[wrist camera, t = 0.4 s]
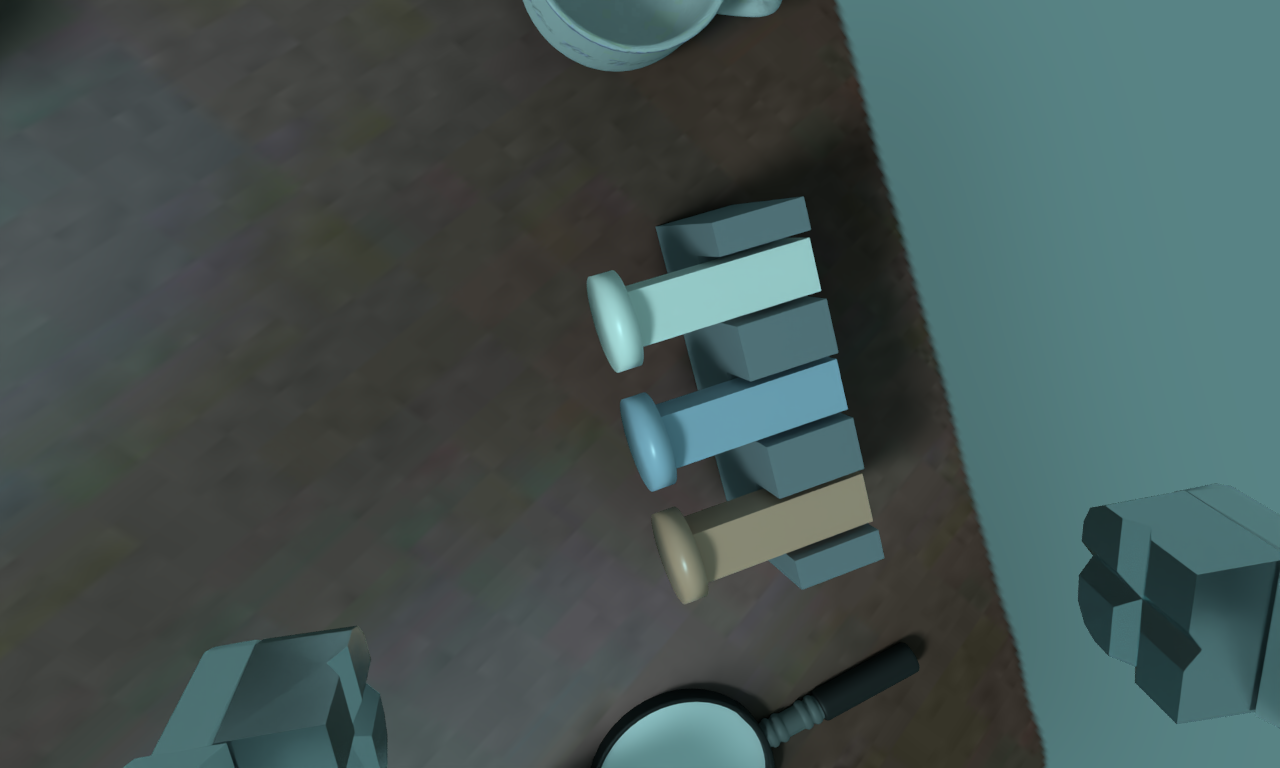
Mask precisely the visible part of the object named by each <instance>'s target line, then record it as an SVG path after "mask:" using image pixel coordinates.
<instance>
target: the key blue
mask: <svg viewBox="0 0 1280 768" xmlns="http://www.w3.org/2000/svg"><path fill="white" fill-rule="evenodd" d="M847 409H848V407H847V403H846V398H845V394H844V389H843V385H842V380H841V376H840V372H839V367H838V363H837V359H835V358H831V357H824V358H821V359H818V360H815V361H812V362H809V363H806V364H803V365H800V366H797V367H794V368H791V369H788V370H785V371H782V372H779V373H776V374H772V375H769V376H766V377H763V378H760V379H757V380H754V381H751V382H750V381H748V380H745V379H743V378H740V377H739V378H735V379H732V380H729V381H726V382H723V383H720V384H717V385H714V386H711V387H708V388H705V389H702V390H699V391H696V392H693V393H690V394H687V395H684V396H681V397H678V398H674V399H671V400H668V401H665V402H662V403H659V404H656V405H655V404H654V402H653V400H652V399H651V397H650V396H649V395H648V394H647V393H645V392H643V393H640V394H637V395H634V396H631V397H628V398H625V399H622V400H621V402H620V412H621V418H622V423H623V428H624V432H625V435H626V439H627V442H628V445H629V448H630V451H631V454H632V457H633V459H634V462H635V464H636V467H637V469H638V471H639V474H640V476H641V478H642V480H643V481H644V483H645V485H646V486H647V488H648V489H649V490H650V491H652V492H653V491H656V490H658V489H661V488H664V487H667V486H670V485H673V484H675V483H676V481H677V470H676V468H679V467H682V466H685V465H687V464H690V463H693V462H696V461H699V460H702V459H705V458H708V457H711V456H714V455H716V454H719V453H722V452H725V451H728V450H731V449H734V448H737V447H740V446H743V445H746V444H748V443H751V442H754V441H757V440H760V439H763V438H766V437H769V436H772V435H775V434H777V433H780V432H783V431H786V430H789V429H792V428H795V427H798V426H801V425H804V424H807V423H809V422H812V421H815V420H818V419H821V418H824V417H827V416H830V415H833V414H836V413H838V412H841V411H844V410H847Z"/></svg>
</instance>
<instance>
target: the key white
mask: <svg viewBox="0 0 1280 768" xmlns="http://www.w3.org/2000/svg"><path fill="white" fill-rule="evenodd" d="M819 291H821V287H820V282H819V278H818V273H817V269H816V264H815V260H814V255H813V251H812V246H811V242H810V238H785V239H782V240H779V241H775V242H772V243H769V244H765V245H762V246H759V247H755V248H752V249H749V250H745V251H742V252H738V253H735V254H732V255H728V256H725V257H722V258H718V259H715V260H712V261H708V262H705V263H702V264H698V265H695V266H691V267H688V268H685V269H681V270H678V271H675V272H671V273H668V274H665V275H661V276H658V277H655V278H651V279H648V280H645V281H641V282H638V283H634V284H631V285H628V286H625V285H624V284H623V282H622V280H621V278H620V277H619V275H618V274H617V273H616V272H615V271H613V270H611V271H608V272H604V273H601V274H597V275H594V276H591V277H588V279H587V294H588V300H589V305H590V310H591V314H592V318H593V321H594V325H595V328H596V331H597V334H598V337H599V340H600V343H601V345H602V348H603V350H604V353H605V355H606V357H607V359H608V361H609V363H610V365H611V366H612V368H613V369H614V370H615V371H616V372H617V373H619V372H622V371H625V370H628V369H631V368H634V367H638V366H641V365H642V364H643V360H644V351H643V347H644V346H647V345H650V344H653V343H657V342H660V341H663V340H666V339H669V338H673V337H676V336H679V335H682V334H685V333H688V332H692V331H695V330H698V329H701V328H704V327H708V326H711V325H714V324H717V323H720V322H724V321H727V320H730V319H733V318H736V317H740V316H743V315H746V314H749V313H752V312H756V311H759V310H762V309H765V308H768V307H771V306H775V305H778V304H781V303H784V302H787V301H791V300H794V299H797V298H800V297H803V296H807V295H810V294H813V293H816V292H819Z"/></svg>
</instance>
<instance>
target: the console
mask: <svg viewBox="0 0 1280 768" xmlns="http://www.w3.org/2000/svg"><path fill="white" fill-rule="evenodd" d="M809 230H811V226H810V222H809V218H808V213H807V209H806V204H805V200H804V196H803V197H795V198H786V199H778V200H769V201H761V202H752V203H744V204H736V205H730V206H727V207H723V208H720V209H716V210H713V211H709V212H706V213H702V214H699V215H695V216H692V217H688V218H685V219H681V220H678V221H674V222H671V223H667V224H664V225H660V226H657V227H656V231H657V234H658V238H659V242H660V246H661V250H662V254H663V258H664V261H665V265H666V269H667V273H671V272H675V271H678V270H681V269H685V268H688V267H691V266H695V265H698V264H702V263H705V262H708V261H712V260H715V259H718V258H722V257H725V256H728V255H732V254H735V253H738V252H742V251H745V250H749V249H752V248H755V247H759V246H762V245H765V244H769V243H772V242H775V241H779V240H782V239H785V237H789V236H792V235H795V234H799V233H802V232H806V231H809ZM684 338H685V342H686V346H687V350H688V354H689V357H690V361H691V365H692V369H693V373H694V377H695V381H696V384H697V388H698V391H699V390H702V389H705V388H708V387H711V386H714V385H717V384H720V383H723V382H726V381H729V380H732V379H735V378H739V377H740V378H743V379H745V380H748V381H750V382H751V381H754V380H757V379H760V378H763V377H766V376H769V375H772V374H776V373H779V372H782V371H785V370H788V369H791V368H794V367H797V366H800V365H803V364H806V363H809V362H812V361H815V360H818V359H821V358H824V357H827V356H830V355H833V354H836V353H839V352H838V348H837V343H836V339H835V334H834V330H833V325H832V321H831V316H830V312H829V307H828V303H827V299H825V298H817V297H809V296H803V297H800V298H797V299H794V300H791V301H787V302H784V303H781V304H778V305H775V306H771V307H768V308H765V309H762V310H759V311H756V312H752V313H749V314H746V315H743V316H740V317H736V318H733V319H730V320H727V321H724V322H720V323H717V324H714V325H711V326H708V327H704V328H701V329H698V330H695V331H692V332H688V333H685V334H684ZM715 457H716V461H717V465H718V469H719V473H720V477H721V481H722V484H723V488H724V492H725V496H726V500H727V501H729V500H732V499H735V498H738V497H741V496H743V495H746V494H749V493H752V492H755V491H757V490H760V489H763V488H764V489H766V490H767V491H769V492H770V493H772V494H773V495H774V496H776V497H777V498H779V499H781V498H784V497H787V496H790V495H792V494H795V493H798V492H801V491H803V490H806V489H809V488H812V487H815V486H817V485H820V484H823V483H826V482H828V481H831V480H834V479H837V478H840V477H842V476H845V475H848V474H851V473H853V472H856V471H859V470H862V469H864V464H863V460H862V455H861V451H860V446H859V442H858V437H857V433H856V428H855V424H854V420H853V417H850V416H847V415H845V414H842V413H840V412H838V413H836V414H833V415H830V416H827V417H824V418H821V419H818V420H815V421H812V422H809V423H807V424H804V425H801V426H798V427H795V428H792V429H789V430H786V431H783V432H780V433H777V434H775V435H772V436H769V437H766V438H763V439H760V440H757V441H754V442H751V443H748V444H746V445H743V446H740V447H737V448H734V449H731V450H728V451H725V452H722V453H719V454H716V455H715ZM881 559H884V554H883V550H882V545H881V541H880V536H879V532H878V530H877V529H876V528H874V527H872V526H871V525H869V524H868V523H866V524H864V525H861V526H858V527H856V528H853V529H850V530H847V531H845V532H842V533H839V534H837V535H834V536H831V537H829V538H826V539H823V540H821V541H818V542H815V543H813V544H810V545H807V546H805V547H802V548H799V549H797V550H794V551H791V552H789V553H786V554H783V555H781V556H778V557H775V558H773V559H770V560H768V561H769V562H771V563H772V564H773V565H774V566H775V567H776V568H778V569H779V570H780V571H781V572H782V573H783V574H784V575H786V576H787V577H788V578H789V579H790V580H791V581H792V582H794V583H795V584H796V585H797V586H798V587H799V588H801V589H802V590H803V589H805V588H808V587H811V586H813V585H816V584H818V583H821V582H824V581H826V580H829V579H832V578H834V577H837V576H839V575H842V574H845V573H847V572H850V571H852V570H855V569H858V568H860V567H863V566H865V565H868V564H871V563H873V562H876V561H878V560H881Z"/></svg>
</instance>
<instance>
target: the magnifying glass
mask: <svg viewBox="0 0 1280 768" xmlns="http://www.w3.org/2000/svg"><path fill="white" fill-rule="evenodd" d="M918 671H919V663H918V661H917V658H916V656H915V655H914V653H913V652H912V650H911V649H910V648H909V646H908V645H906V644H905V643H899V644H897V645H895V646H893V647H891V648H890V649H888V650H886V651H884V652H882V653H880V654H878V655H877V656H875V657H873V658H871V659H869V660H867V661H866V662H864V663H862V664H860V665H858V666H856V667H854V668H853V669H851V670H849V671H847V672H845V673H843V674H842V675H840V676H838V677H836V678H834V679H832V680H830V681H829V682H827V683H825V684H823V685H821V686H819V687H818V688H816V689H814V690H812V692H811V696H809V695H806V696H804V697H803V700H802V701H800V700H797V701H795V702H794V704H793V706H791V707H789V708H787V709H785V710H784V711H782V712H780V713H778V714H777V713H773V714H771V715H770V718H769V719H766V718H764V719H762V720H761V722H760V723H759V724H758V723H757V721H756V720H755V719H754V717H753V716H752V715H751V713H750V712H749V711H748V710H747V709H746V708H745V707H744V706H742V705H741V704H740V703H739V702H737V701H735V700H733V699H731V698H729V697H727V696H725V695H723V694H720V693H717V692H714V691H709V690H704V689H681V690H675V691H670V692H666V693H663V694H660V695H657V696H655V697H652V698H650V699H648V700H646V701H644V702H642V703H641V704H639V705H637V706H636V707H634V708H633V709H632V710H630V711H629V712H628V713H626V714H625V715H624V716H623V717H622V718H621V719H620V720H619V721H618V722H617V723H616V724H615V725H614V726H613V727H612V728H611V730H610V731H609V732H608V733H607V735H606V736H605V738H604V739H603V741H602V742H601V744H600V746H599V748H598V750H597V752H596V754H595V756H594V759H593V762H592V765H591V768H775V763H774V758H773V753H772V750H771V747H775V748H776V747H778V746H779V745H780V742H787V741H789V739H790V737H791V736H793V735H795V734H796V733H798V732H800V731H802V730H804V729H811V728H812V727H813V725H814V724H815V723H816V724H820V723H822V721H823V719H825V720H831V719H833V718H834V717H836V716H838V715H840V714H842V713H844V712H845V711H847V710H849V709H851V708H853V707H855V706H856V705H858V704H860V703H862V702H864V701H865V700H867V699H869V698H871V697H873V696H875V695H876V694H878V693H880V692H882V691H884V690H886V689H887V688H889V687H891V686H893V685H895V684H896V683H898V682H900V681H902V680H904V679H906V678H907V677H909V676H911V675H913V674H915V673H916V672H918Z"/></svg>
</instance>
